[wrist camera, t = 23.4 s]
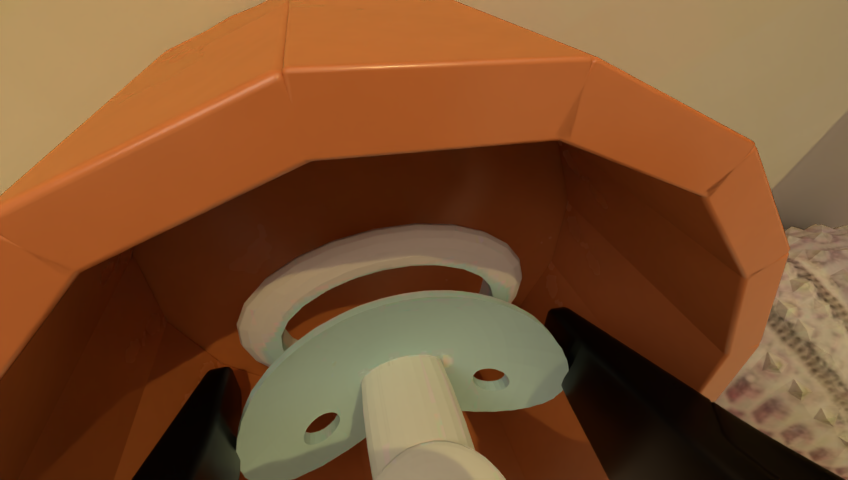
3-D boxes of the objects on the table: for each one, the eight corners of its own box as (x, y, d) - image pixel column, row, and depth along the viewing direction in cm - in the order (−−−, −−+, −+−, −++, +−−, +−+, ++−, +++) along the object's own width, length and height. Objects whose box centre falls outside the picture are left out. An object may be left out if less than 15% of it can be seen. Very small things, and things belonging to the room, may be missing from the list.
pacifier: (183, 251, 8) (276, 420, 11) (-18, 767, 3) (258, 784, 6) (535, 179, 9) (519, 354, 12) (832, 460, 4) (667, 618, 7)
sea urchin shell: (898, 203, 18) (1212, 340, 12) (723, 388, 26) (860, 532, 19) (672, 191, 14) (966, 389, 8) (541, 415, 22) (641, 608, 15)
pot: (639, -12, 10) (1003, 41, 5) (535, 350, 18) (629, 512, 13) (-41, -16, 7) (-933, 111, 2) (200, 417, 15) (151, 661, 10)
